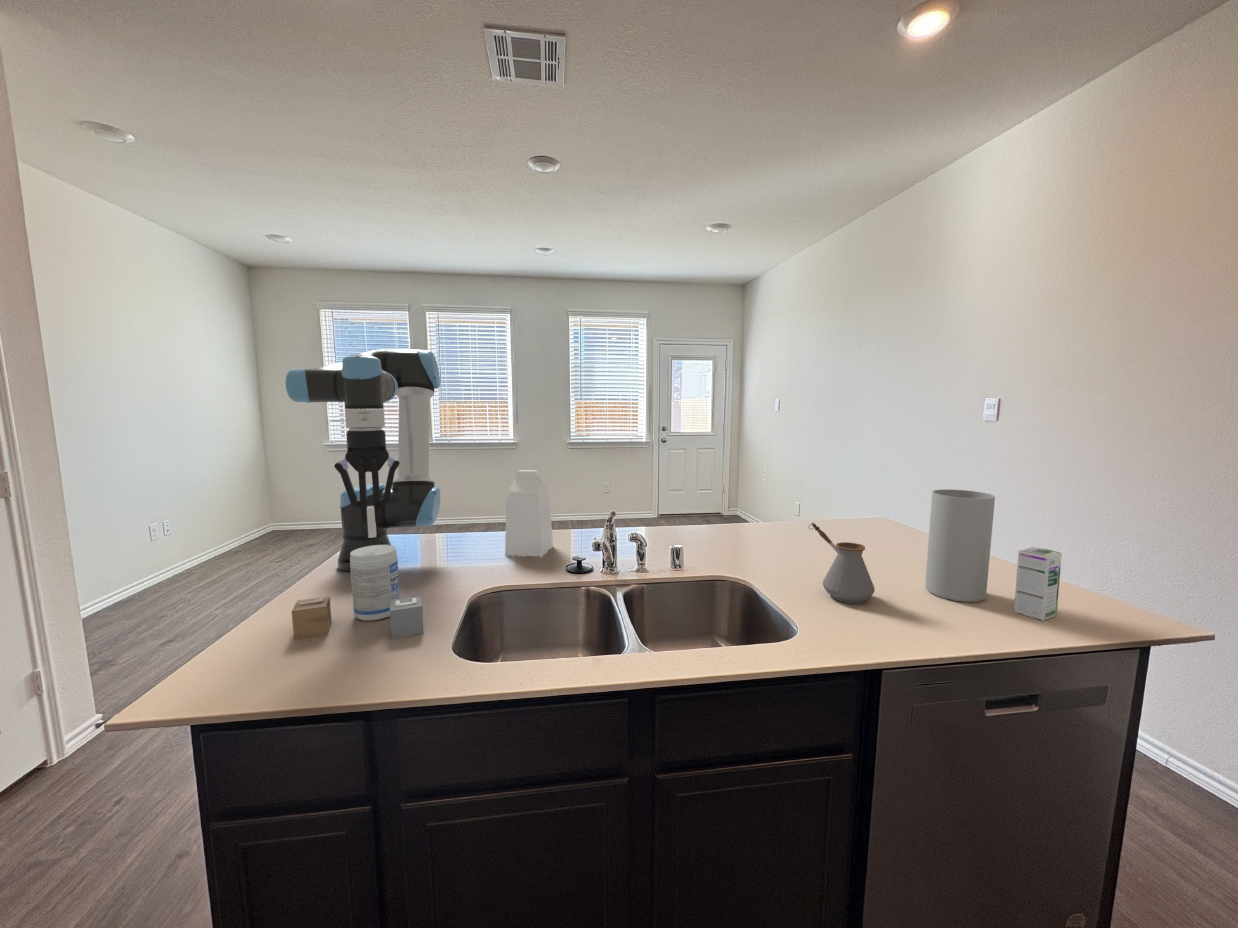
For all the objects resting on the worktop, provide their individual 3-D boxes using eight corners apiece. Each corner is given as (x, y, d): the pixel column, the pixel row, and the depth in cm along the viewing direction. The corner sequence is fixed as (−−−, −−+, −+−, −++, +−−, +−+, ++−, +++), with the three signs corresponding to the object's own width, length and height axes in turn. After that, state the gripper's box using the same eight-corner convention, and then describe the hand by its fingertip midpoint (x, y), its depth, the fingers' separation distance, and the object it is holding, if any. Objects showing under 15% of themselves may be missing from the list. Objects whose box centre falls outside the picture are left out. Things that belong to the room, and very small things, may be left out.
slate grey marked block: (392, 627, 106) (390, 598, 105) (422, 622, 108) (420, 594, 108) (391, 639, 101) (389, 609, 100) (423, 633, 103) (422, 604, 102)
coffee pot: (885, 604, 117) (889, 541, 115) (842, 608, 114) (846, 545, 113) (827, 574, 138) (830, 520, 136) (790, 577, 135) (792, 523, 133)
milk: (505, 555, 156) (502, 472, 152) (518, 545, 167) (516, 467, 164) (542, 557, 154) (540, 473, 150) (553, 546, 165) (551, 468, 162)
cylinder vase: (995, 596, 121) (1005, 495, 118) (970, 607, 115) (979, 500, 112) (941, 581, 132) (948, 487, 129) (914, 590, 126) (921, 492, 122)
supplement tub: (404, 615, 112) (400, 551, 110) (356, 626, 106) (351, 559, 105) (396, 601, 120) (392, 541, 118) (351, 610, 114) (347, 548, 113)
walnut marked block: (299, 627, 106) (296, 598, 105) (331, 622, 108) (329, 594, 108) (294, 639, 101) (291, 609, 100) (328, 633, 103) (326, 604, 102)
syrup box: (1044, 621, 107) (1050, 556, 106) (1012, 611, 113) (1018, 549, 111) (1056, 616, 110) (1063, 552, 108) (1025, 606, 115) (1031, 545, 114)
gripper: (329, 430, 102) (337, 543, 105) (398, 429, 107) (404, 536, 110) (333, 429, 109) (340, 535, 111) (398, 428, 114) (404, 529, 117)
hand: (372, 535), depth 111 cm, fingers closed
